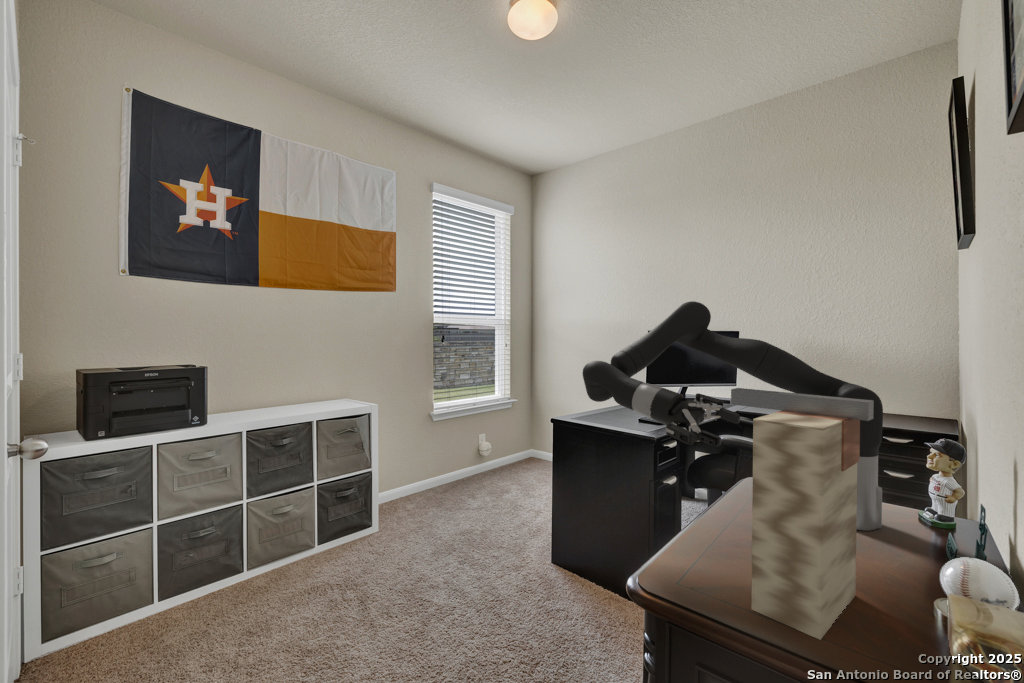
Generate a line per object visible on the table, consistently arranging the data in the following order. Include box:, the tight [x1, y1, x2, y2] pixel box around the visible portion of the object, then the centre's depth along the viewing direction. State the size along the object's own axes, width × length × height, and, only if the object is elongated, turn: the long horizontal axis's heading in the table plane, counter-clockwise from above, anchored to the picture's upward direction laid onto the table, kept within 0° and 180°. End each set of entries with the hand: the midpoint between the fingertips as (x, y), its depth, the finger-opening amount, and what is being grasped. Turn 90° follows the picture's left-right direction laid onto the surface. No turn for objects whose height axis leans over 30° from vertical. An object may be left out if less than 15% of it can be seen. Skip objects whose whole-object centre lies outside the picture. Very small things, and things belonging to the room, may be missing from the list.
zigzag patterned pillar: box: [751, 410, 860, 641], centre depth 79 cm, size 10×18×32 cm, turn 130°
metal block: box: [730, 387, 874, 421], centre depth 84 cm, size 22×3×3 cm, turn 40°
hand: (730, 430), depth 93 cm, fingers open, 8 cm apart
